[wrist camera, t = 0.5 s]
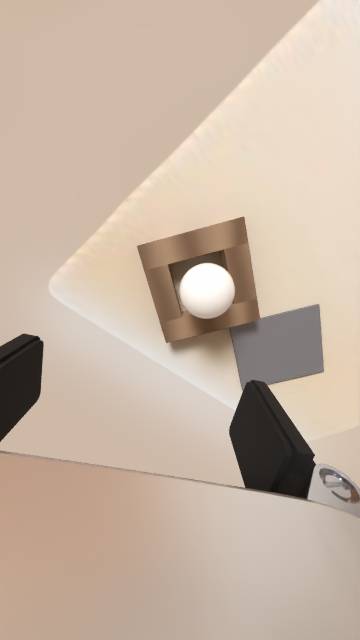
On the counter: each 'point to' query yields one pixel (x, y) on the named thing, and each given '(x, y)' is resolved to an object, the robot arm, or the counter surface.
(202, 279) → the lightbulb
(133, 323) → the counter surface
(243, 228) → the socket collar
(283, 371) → the mat
